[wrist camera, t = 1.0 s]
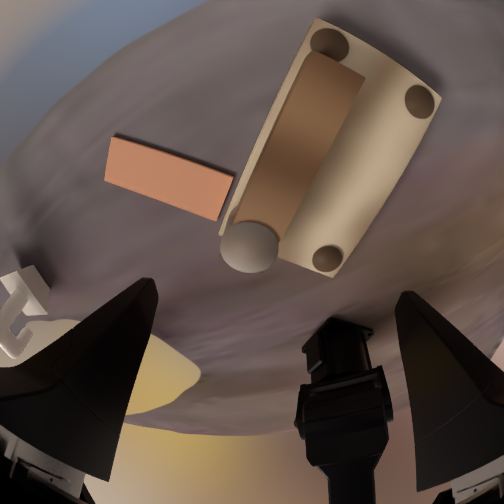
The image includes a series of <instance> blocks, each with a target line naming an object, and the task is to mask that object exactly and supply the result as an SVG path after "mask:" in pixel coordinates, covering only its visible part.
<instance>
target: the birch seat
mask: <svg viewBox="0 0 504 504" xmlns="http://www.w3.org/2000/svg"><path fill="white" fill-rule="evenodd" d="M312 50H314V51H316V52H319V53H321V54H323V55H325V56H327V57H329V58H331V59H333V60H335V61H337V62H339V63H341V64H343V65H344V66H346V67H348V68H350V69H352V70H353V71H355V72H357V73H359V74H360V75H362V76H364V77H365V78H366V79H365V81H364V83H363V85H362V87H361V89H360V91H359V93H358V95H357V97H356V98H355V100H354V102H353V104H352V106H351V108H350V110H349V112H348V114H347V116H346V118H345V120H344V122H343V124H342V126H341V128H340V130H339V132H338V134H337V136H336V137H335V139H334V141H333V143H332V145H331V147H330V149H329V151H328V153H327V155H326V157H325V158H324V160H323V162H322V164H321V166H320V168H319V170H318V172H317V174H316V175H315V177H314V179H313V181H312V183H311V185H310V187H309V189H308V190H307V192H306V194H305V196H304V198H303V200H302V202H301V203H300V205H299V207H298V209H297V211H296V213H295V214H294V216H293V218H292V220H291V222H290V224H289V225H288V227H287V229H286V231H285V233H284V235H283V236H282V238H281V240H280V242H279V244H278V245H279V251H278V256H277V257H279V258H282V259H284V260H287V261H289V262H292V263H295V264H297V265H300V266H303V267H305V268H308V269H310V270H313V271H316V272H318V273H321V274H324V275H326V276H329V277H331V278H333V277H334V276H335V275H336V273H337V272H338V270H339V269H340V268H341V266H342V265H343V264H344V262H345V261H346V259H347V258H348V257H349V255H350V254H351V252H352V251H353V249H354V248H355V247H356V245H357V244H358V242H359V241H360V239H361V238H362V236H363V235H364V233H365V232H366V230H367V229H368V227H369V226H370V224H371V223H372V221H373V220H374V218H375V217H376V215H377V214H378V212H379V211H380V209H381V207H382V206H383V204H384V203H385V201H386V200H387V198H388V196H389V195H390V193H391V191H392V190H393V188H394V187H395V185H396V183H397V182H398V180H399V178H400V177H401V175H402V173H403V171H404V170H405V168H406V166H407V165H408V163H409V161H410V159H411V157H412V156H413V154H414V152H415V150H416V148H417V147H418V145H419V143H420V141H421V139H422V137H423V136H424V134H425V132H426V130H427V128H428V126H429V124H430V122H431V120H432V118H433V116H434V114H435V112H436V110H437V108H438V106H439V104H440V102H441V100H442V98H441V97H440V96H439V95H438V94H437V93H436V92H434V91H433V90H432V89H431V88H430V87H428V86H427V85H426V84H425V83H424V82H422V81H421V80H420V79H419V78H417V77H416V76H415V75H413V74H412V73H411V72H409V71H408V70H407V69H405V68H404V67H402V66H401V65H400V64H398V63H397V62H395V61H394V60H392V59H391V58H389V57H388V56H386V55H385V54H383V53H382V52H380V51H379V50H377V49H375V48H374V47H372V46H370V45H369V44H367V43H365V42H364V41H362V40H360V39H358V38H357V37H355V36H353V35H351V34H349V33H347V32H345V31H344V30H342V29H340V28H338V27H336V26H334V25H331V24H329V23H327V22H325V21H323V20H321V19H318V18H315V20H314V21H313V23H312V25H311V27H310V28H309V30H308V32H307V34H306V36H305V38H304V40H303V42H302V44H301V46H300V48H299V50H298V52H297V54H296V56H295V58H294V60H293V63H292V65H291V67H290V69H289V71H288V73H287V75H286V77H285V79H284V81H283V83H282V86H281V88H280V90H279V92H278V94H277V96H276V98H275V101H274V103H273V105H272V107H271V109H270V112H269V114H268V116H267V118H266V120H265V123H264V125H263V127H262V129H261V132H260V134H259V136H258V138H257V141H256V143H255V145H254V148H253V150H252V152H251V155H250V157H249V159H248V162H247V164H246V166H245V169H244V171H243V173H242V176H241V178H240V181H239V183H238V185H237V188H236V190H235V193H234V195H233V198H232V200H231V202H230V205H229V207H228V210H227V212H226V215H225V217H224V220H223V223H222V225H221V228H220V231H219V234H218V235H221V236H223V233H224V230H225V226H226V223H227V220H228V217H229V215H230V213H231V211H232V210H233V209H234V208H235V207H236V206H238V204H239V202H240V199H241V197H242V195H243V192H244V190H245V188H246V185H247V183H248V181H249V178H250V176H251V174H252V171H253V169H254V167H255V165H256V162H257V160H258V158H259V156H260V153H261V151H262V149H263V147H264V144H265V142H266V140H267V138H268V135H269V133H270V131H271V129H272V127H273V124H274V122H275V120H276V118H277V116H278V114H279V111H280V109H281V107H282V105H283V103H284V101H285V99H286V96H287V94H288V92H289V90H290V88H291V86H292V84H293V82H294V80H295V78H296V75H297V73H298V71H299V69H300V67H301V65H302V63H303V61H304V59H305V57H306V56H307V55H308V54H309V53H310V52H311V51H312Z"/></svg>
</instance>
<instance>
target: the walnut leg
mask: <svg viewBox="0 0 504 504" xmlns="http://www.w3.org/2000/svg"><path fill="white" fill-rule="evenodd" d="M365 79H366V78H365V77H364V76H362V75H360V74H359V73H357V72H355V71H353V70H352V69H350V68H348V67H346V66H344V65H343V64H341V63H339V62H337V61H335V60H333V59H331V58H329V57H327V56H325V55H323V54H321V53H319V52H316V51H314V50H312V51H311V52H310V53H309V54H308V55H307V56H306V57H305V59H304V61H303V63H302V65H301V67H300V69H299V71H298V73H297V75H296V78H295V80H294V82H293V84H292V86H291V88H290V90H289V92H288V94H287V96H286V99H285V101H284V103H283V105H282V107H281V109H280V111H279V114H278V116H277V118H276V120H275V122H274V124H273V127H272V129H271V131H270V133H269V135H268V138H267V140H266V142H265V144H264V147H263V149H262V151H261V153H260V156H259V158H258V160H257V162H256V165H255V167H254V169H253V171H252V174H251V176H250V178H249V181H248V183H247V185H246V188H245V190H244V192H243V195H242V197H241V199H240V202H239V204H238V206H236V207H235V208H234V209H233V210H232V211H231V213H230V215H229V217H228V220H227V223H226V226H225V230H224V233H223V236H222V239H221V242H220V256H219V258H222V259H224V260H225V261H226V263H227V264H228V265H230V266H231V267H232V268H234V269H236V270H238V271H242V272H247V273H255V272H260V273H262V272H263V271H264V270H265V269H267V268H269V267H270V266H271V265H272V264H273V263H274V262H275V260H276V258H277V256H278V251H279V245H278V244H279V242H280V240H281V238H282V236H283V235H284V233H285V231H286V229H287V227H288V225H289V224H290V222H291V220H292V218H293V216H294V214H295V213H296V211H297V209H298V207H299V205H300V203H301V202H302V200H303V198H304V196H305V194H306V192H307V190H308V189H309V187H310V185H311V183H312V181H313V179H314V177H315V175H316V174H317V172H318V170H319V168H320V166H321V164H322V162H323V160H324V158H325V157H326V155H327V153H328V151H329V149H330V147H331V145H332V143H333V141H334V139H335V137H336V136H337V134H338V132H339V130H340V128H341V126H342V124H343V122H344V120H345V118H346V116H347V114H348V112H349V110H350V108H351V106H352V104H353V102H354V100H355V98H356V97H357V95H358V93H359V91H360V89H361V87H362V85H363V83H364V81H365Z"/></svg>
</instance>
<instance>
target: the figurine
mask: <svg viewBox="0 0 504 504" xmlns="http://www.w3.org/2000/svg"><path fill="white" fill-rule="evenodd" d="M0 280H1V281H2V283H3V284H4V286H5V287H6V289H7V290H8V292H9V293H10V295H11V296H10V297H9V298H8V300H7V301H6V302H5V304H4V305H3V306H2V308H1V309H0V347H1V348H2V349H3V350H4V351H5V352H6V353H7V354H8V355H9V356H10V357H11V358H13V359H16V358H18V357H19V356H20V355H21V353H22V352H23V350H24V348H25V347H26V345H27V344H28V342H29V340H30V339H31V337H32V335H33V333H32V330H31V329H30V328H28V327H24V328H23V329H22V330H21V332H20V333H19V335H18V336H17V337H15V336H14V335H13V334H12V333H11V331H10V330H9V328H10V326H11V325H12V323H13V322H14V321H15V319H16V318H17V316H18V315H19V313H20V312H21V311H23V312H24V313H25V315H26V316H31V315H45V314H48V306H49V294H50V288H49V287H48V285H47V284H46V283H45V281H44V280H43V278H42V277H41V275H40V274H39V272H38V271H37V269H36V268H35V266H34V264H33V265H31V266H28V267H25V268H23V269H20V270H18V271H15V272H13V273H10V274H8V275H5V276H3V277H1V278H0Z"/></svg>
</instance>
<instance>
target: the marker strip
mask: <svg viewBox="0 0 504 504" xmlns="http://www.w3.org/2000/svg"><path fill="white" fill-rule="evenodd" d="M233 178H234V176H231V175H228V174H226V173H223V172H220V171H218V170H215V169H212V168H210V167H207V166H204V165H201V164H199V163H196V162H193V161H190V160H187V159H184V158H181V157H178V156H176V155H173V154H170V153H167V152H164V151H161V150H157V149H154V148H151V147H148V146H145V145H142V144H138V143H135V142H132V141H129V140H125V139H122V138H118V137H115V136H113V137H112V138H111V143H110V148H109V154H108V159H107V166H106V172H105V179H104V181H107V182H110V183H113V184H115V185H118V186H121V187H124V188H127V189H129V190H132V191H135V192H138V193H140V194H143V195H146V196H149V197H151V198H154V199H157V200H160V201H162V202H165V203H168V204H171V205H173V206H176V207H179V208H181V209H184V210H187V211H189V212H192V213H195V214H197V215H200V216H203V217H205V218H208V219H211V220H213V221H217V218H218V216H219V213H220V211H221V208H222V205H223V203H224V200H225V198H226V195H227V193H228V190H229V188H230V185H231V183H232V180H233Z"/></svg>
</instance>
